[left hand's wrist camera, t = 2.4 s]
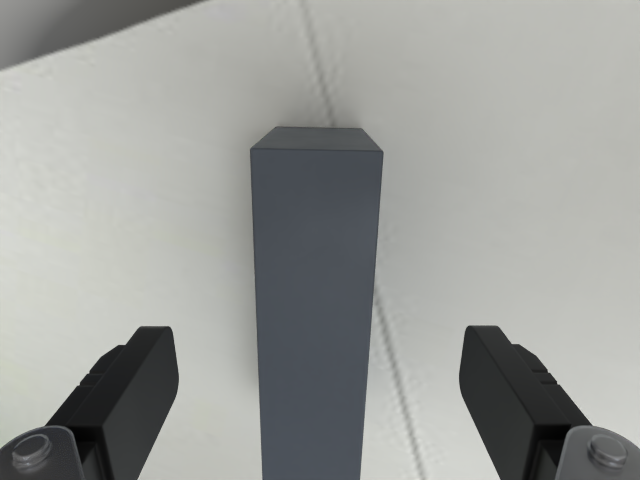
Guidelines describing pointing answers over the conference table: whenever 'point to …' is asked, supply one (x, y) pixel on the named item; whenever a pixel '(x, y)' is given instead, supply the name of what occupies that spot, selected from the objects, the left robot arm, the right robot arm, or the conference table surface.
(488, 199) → the conference table surface
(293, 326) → the box
